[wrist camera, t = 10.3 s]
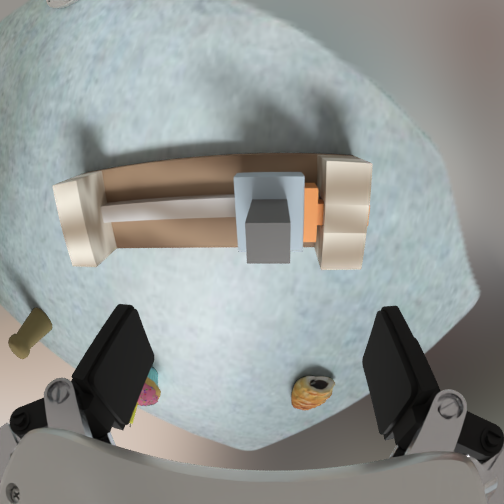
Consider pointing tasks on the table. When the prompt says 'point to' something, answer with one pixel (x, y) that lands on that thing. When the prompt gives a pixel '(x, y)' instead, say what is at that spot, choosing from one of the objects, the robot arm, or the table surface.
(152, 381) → the cupcake
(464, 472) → the robot arm
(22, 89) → the table surface
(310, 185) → the button
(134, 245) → the rail bench
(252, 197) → the carriage
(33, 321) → the cork
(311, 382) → the pastry
